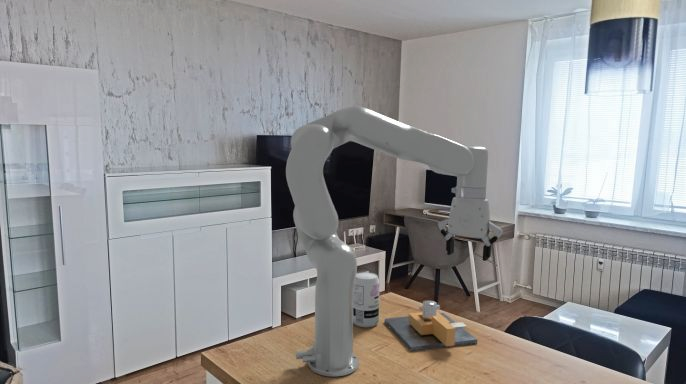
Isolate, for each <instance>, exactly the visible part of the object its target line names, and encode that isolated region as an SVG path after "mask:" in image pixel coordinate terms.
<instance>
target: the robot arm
mask: <svg viewBox="0 0 686 384" xmlns="http://www.w3.org/2000/svg"><path fill="white" fill-rule="evenodd" d="M349 142H354V143H357V144H360V145H361V146H364V147H367V148H369V149H372V150H375V151H377V152H380V153H382V154H385V155H388V156H389V157H392V158H396V159H399V160H403V161H408V162H416V163H419V164H424V165H426V166H428V168H429V169H430V170H431V171H432V172H434V173H436V174H439V175H440V174H441V175H446V176H454V177H456V178H457V179H456V186H455V187H452V188H451V193H453V194H455V197H453V198H452V201H451V205H450V210H449V217H448V218H446V219H443V220H441V221H439V222H438V223H437V226H438V228H439V230H440V233H441V235H442V236H443V237H444V239H445V241H446V242H445V244H446V245H445V251H446V253H447V255H448V256H450V255H453V254H454V251H455V238H454V237H455V236H457V237H463V238H464V237H465V238H472V239H480V240H482V241H483V243H484V245H483V247H482V248H483V249H482V261H483V262H486V261H487V260H489V259H490V258H491V257H492V245H493V244H494V243H495V242H497V241H498V240H499V239H500V237H501V235H502V234H503V233H504V230H503V229H502V228H500V227H499V226H498V225H497V224H496V225H495V224H494V223H493V222H491V214H490V213H491V212H490V204H489V199H486V198H487V184H488V183H487V179H488V166H489V165H488V164H489V163H488V161H489V150H488V148H486V147H483V146H465V145H462V144H460V143H459V142H456V141H453V140H451V139H448V138H446V137H443V136H441V135H438V134H435V133H431V132H428V131H425V130H423V129H421V128H418V127H415V126H412V125H411V126H410V125H408V124H405V123H403V122H400V121H398V120H396V119H393V118H391V117H388V116H386V115H384V114H381V113H378V112H376V111H374V110H372V109H369V108H366V107H363V106H360V105H354V106H348V107H344V108H340V109H339V110H337V111H334V112H332V113H330V114H327V115H325V116H323V117H320V118H317V119H315V120H313V121H311V122H308V123H305V124H303V125H301V126H299V127H297V128H296V129H295V131H294V132H293V133H292V135H291V137H290V146H291V150H290V152H289V155H288V157H287V160H286V166H285V177H286V182H287V187H288V188H289V192H290V195H291V197H292V202H293V203H294V209H293V212H292V213H293V214H292V217H293V223H294V224H295V225H294V226H295V229H296V231H297V233H298V235H299V238H300V241H301V244H302V245H303V248H304V251H305V254H306V255H307V258H308V260H309V262H310V263H311V264H312V266H313V267H314V268H315V270H316V282H315V290H314V291H315V292H314V344H311V348H308V349H307V350H298V351H297V350H296V351H295V358H296V359H295V360H302V363H303V364H304V363H308V367H309V370H311V371H312V372H314V373H315V374H318V375H320V376H324V377H342V376H347V375H350V374H352V373H354V372H355V371H356V370H357V369H358V368H359V358H358V357H357V355H356V354H355V353H353V345H354V323H353V298H354V283H355V277H356V274H357V269H358V263H357V257H356V254H355V253H354V252H355V251H353V249H352V247H350V246H349V245H348V244H347V243H345V242H344V241H343V240H341V239H340V238H339V236H338V233H337V230H338V228H339V215H338V212H337V210H336V208H335V205H334V203H333V201H332V198H331V195H330V193H329V190H328V187H327V184H326V180H325V177H324V165H325V163H326V161H327V159H328V157H329V156H330V155H331V153H332V151H333V150H334V149H336V148H339V146H341V145H344V144H346V143H349ZM446 225H448V226H447V228H446ZM490 230H492V231H493V232H494V235H493V236H492V237H491V236H490V235H489V234H490Z"/></svg>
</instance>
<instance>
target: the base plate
mask: <svg viewBox="0 0 686 384" xmlns="http://www.w3.org/2000/svg"><path fill="white" fill-rule="evenodd" d="M440 309H441V305H439V304H437V302H436V301H434V300H424V301H422V306H421V305H420V306H418V310H419V312H422V320H423V321H424V322H430V321H432V316H436V311H438V310H440ZM439 313H440V314H441V315H442V316H443V317H445V318H446V319H447V320H448V321H450V322H451V323H450V324H451V325H452V326H453V327H454V328H455V345H453V346H446V345H444V344H443V343H442V342H441V341H440V340H439V339H438V338H437V337H436V336H435V335H433V334H426V335H421V334H420V333H419V332H418V331H417V330H416V329H415V328H414V327H412V326H411V325H410V324H409V315H408V316H398V317H390V318H389V317H388V318H387V317H386V318H384V323H385V325H386V326H387V327H388V328H389V327H390V328H389V329H390V330H391V331H392V332H393V333H394V334H395V335H396V336H397V338H398V339H399V340H400V342H402V344H404V345H405V346H406V348H408V350H409V349H410V350H411V351H410V350H409V351H410V352H417V350H418V351H425V349H427V350H433V348H435V349H442V347H443V348H450V347H459V346H467V345H475V344H476V345H477V344H478V339H477V338H476V337H475V336H474V335H472V334H471V333H470V332H468V331H467V330H466V329H465V328H467V327H468V325H467V324H466V323H464V322H463V321H458V322H456V321H454V320H453V319H452V318H450V317H449V316H448V315H447V314H446V313H444V312H442V313H441V312H439Z"/></svg>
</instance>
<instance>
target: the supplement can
mask: <svg viewBox="0 0 686 384" xmlns="http://www.w3.org/2000/svg"><path fill="white" fill-rule="evenodd" d="M380 284H381V283H380V278H379V277H378V274H377V273H374V272H367V271H366V272H358V273H357V272H356V277H355V283H354V298H353V325H355V326H357V327H359V328H366V329H367V328H372V327H375V326H376V325H378V323H379V322H380V321H379V319H380V289H381V288H380Z"/></svg>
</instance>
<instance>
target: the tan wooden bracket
mask: <svg viewBox="0 0 686 384" xmlns="http://www.w3.org/2000/svg"><path fill="white" fill-rule="evenodd" d="M422 312H423V311H419V312H411V313H408V316H409V324H410V325H411V326H412V327H414V328H415V329H416V330H417V331H418V332H419V333H420V334H421V335H426V334H433V335H435V336H436V337H437V338H438V339H439V340H440V341H441V342H442V343H443V344H444V345H446V346H452V347H454V346H453V345H455V328H454V327H453V326H452V325H451V324H450V323H451V322H450V321H448V320H447V319H446V318H445V317H443V316H442V315H441V314H440V313H441V312H438V310H436V316H432V321H430V322H424V321H423V320H422Z"/></svg>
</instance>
